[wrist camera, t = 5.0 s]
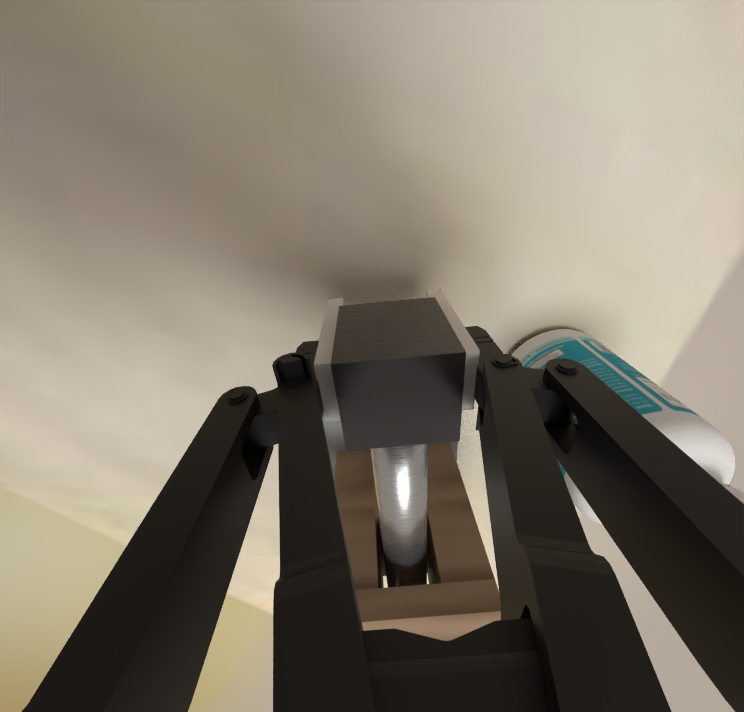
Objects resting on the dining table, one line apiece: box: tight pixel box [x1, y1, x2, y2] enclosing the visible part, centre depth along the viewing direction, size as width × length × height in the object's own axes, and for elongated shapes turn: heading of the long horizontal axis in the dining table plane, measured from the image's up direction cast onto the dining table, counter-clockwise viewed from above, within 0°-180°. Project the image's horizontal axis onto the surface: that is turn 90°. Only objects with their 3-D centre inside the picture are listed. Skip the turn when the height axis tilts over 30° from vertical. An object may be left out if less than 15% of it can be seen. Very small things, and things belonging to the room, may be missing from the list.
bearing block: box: [322, 413, 501, 641], centre depth 26 cm, size 22×11×13 cm, turn 5°
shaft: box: [331, 297, 466, 588], centre depth 18 cm, size 23×4×5 cm, turn 5°
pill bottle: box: [511, 329, 744, 525], centre depth 19 cm, size 8×7×14 cm
